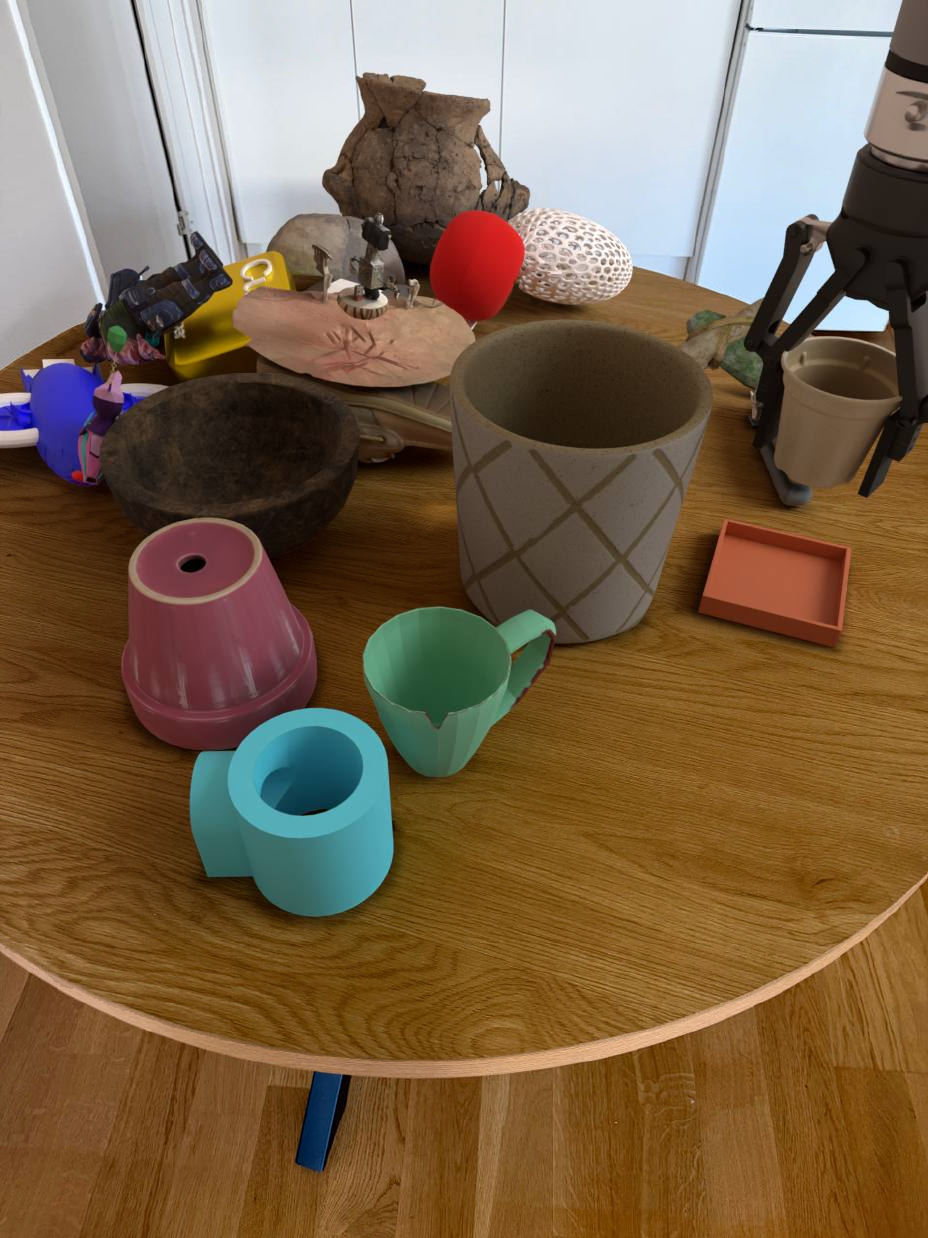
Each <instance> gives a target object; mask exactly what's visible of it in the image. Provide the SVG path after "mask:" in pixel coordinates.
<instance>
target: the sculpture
mask: <svg viewBox="0 0 928 1238" xmlns="http://www.w3.org/2000/svg"><path fill="white" fill-rule="evenodd" d="M382 223H383V215H382V214H381V213H377V214H376V215H375V217H374V218H372V217H368V218H365V220H364V222H363V223H362V224H361V226H362V234H361V235H362V238H363V239H364V240H366V241H367V242H368V243H367V248H366V254H365V256H360V257H359V260H357V259H356V256H354V258H353V257H352V256H351V257H350V262H349V264H350V266H351V267H350V268H349V271H350V273H351V274H355V275H356V274H357V269H356V267H354V266H352V262H354V261H355V260H356V261H357V262H358V264H359V272H358V281H359V282H360V283H361V284H359V285H355V287H349V288H345V289H343V290H341V291H340V292H334V293H328V289H329V288H330V286H331V281H332V277H333V275H332V274H330V273H329V271H328V259H330V260H333V258H332V255H331V254H330V253H329V251H328V250H327V249H326V248H325V247H324V246H322V245H320V244H313V245H312V248H313V250H314V256H313V258H314V261H315V263H316V269H317V270H319V272H320V273H321V274H322V275H324V277H323V279H324V285H323V292H318V291H305V290H302V291H297V290H296V291H293V290H285V289H276V288H273V287H267V286H260V287H258V288H257V289H255V290H251V291H249V292H248V293H247V295H245V296H243V297H241V298H240V299H239V301H238V304H237V306H236V308H235V309H234V310H233V327H235V328H236V329H238V331H240V333H241V332H243V333H244V334H245V335H246V336H248V337H249V339H252V340H251V341H249V342H248V343H247V344H245V346H248V347H249V346H250V347H251V348H252V349H254V350H255V351H256V352H258V353H260V354H261V355H263V356H264V357H266V358H268V359H269V360H271V361H273V362H275V363H277V364H279V365H281V366H283V367H285V368H288V369H291V370H293V371H295V372H298V373H309V374H311V375H312V376H313V377H317V378H321V379H324V380H329V381H333V382H339V383H344V384H350V385H358V386H369V387H400V386H409V385H413V384H422V383H427V382H431V381H435V382H436V381H438V380H440V379H443V378H447V377H450V374H451V370H452V367H453V365H454V363H455V361H456V359H457V358H458V356H459V355H460V354H461V353H462V352H463V351H464V350H465V349H466V348H467V347H468V346H469V345H471V344H472V343H474V342H475V341H476V336H475V332H473V329H472V330H471V329H470V327H469V325H468V324H467V323H466V321H465V320H464V318H463V317H462V316H461V315H460V314H459V313H457V312H456V311H455V310H453V309H451V308H449V307H448V306H446V305H445V304H444V303H443V302H441V301H438V300H437V299H436V298H433V297H432V298H431V297H428V296H422V295H418V292H419V290H420V287H421V284H419V281H418V280H417V279H416V278H414V279H410V278H408V280H407V282H406V283H408V286H409V290H410V291H409V296H408V297H404V296H401V297H398V295H399V294H400V290H399V289H397V287H396V284H397V279H396V277H394V276H393V275H387V285H386V284H385V283H384V282H383V272H384V263H383V262H381V261H380V255H381V251H382V252H383V251H384V250H386V249H388V245H389V240H390V238H391V235H390V234H391V230H389V229H388V228H385V227H384V226H383V225H382ZM382 283H383V284H384V285H385V286H384V287H386V288H387V289H390V290H391V291H392V292H394V291H393V290H396V291H395V292H394V297H389V296H388V295H385V294H382V293H381V292H379V290H380V288H382Z"/></svg>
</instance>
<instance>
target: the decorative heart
mask: <svg viewBox="0 0 928 1238" xmlns="http://www.w3.org/2000/svg"><path fill="white" fill-rule="evenodd" d="M508 224H509V225H510V226H511V227H512V228H513V229H515V230H516V231H517V233H518V234H519V235H520V237H521V238H522V240H523V243H524V246H525V257H524V261H525V262H524V261H523V264H524V265H523V264H522V266H523V268H521V269H522V270H521V269H520V271H521V272H519V273H520V274H519V275H518V276H519V277H518V279H517V280H518V281H520V285H519V287H518V286H516V288H518V289H519V290H521V291H522V292H523V293H525V294H526V295H527V294H528V295H529V296H532V297H534V298H536V299H539V300H542V301H545V302H549V303H554V304H560V305H571V306H572V305H573V306H576V305H577V306H578V305H579V306H582V305H593V304H598V303H601V302H605V301H608V300H610V299H612V298H614V297H617V296H618V295H619V294H621V293H622V291H623V290H625V288H626V287H627V286H628V285H629V284H630V281H631V279H632V276H633V270H634V269H633V260H632V256H631V254H630V252H629V250H628V249H627V247H626V246H625V244H624V243H623V242H622V241H621V240H620V239H619V238H618V237H617V235H615V234H614V233H613V232H611V231H610V230H608V229H607V228H606V227H604V226H603V225H601V224H599V223H598V222H595V221H594V220H591V219H589V218H587V217H585V216H582V215H579V214H576V213H573V212H569V211H566V210H562V209H559V208H546V207H537V208H531V209H528V210H525V211H523V212H522V213H519V214H518V215H516V216H515V217H514V218H512V219H511V220H509V222H508ZM540 232H543V233H540ZM562 235H563V236H565V238H563V237H562ZM580 240H581V241H580ZM555 241H558V243H556V242H555ZM572 247H573V248H572ZM578 249H579V250H578ZM595 252H597V253H598V254H597V253H595ZM527 253H528V254H527ZM533 259H534V260H533ZM603 263H604V264H603ZM610 263H611V265H610ZM563 268H564V269H563ZM523 269H524V270H523ZM615 270H616V271H615ZM568 274H570V276H567V275H568ZM539 275H540V276H539ZM601 276H602V277H601ZM609 278H611V279H610V280H609V281H608V279H609ZM539 281H540V282H539ZM590 282H596V283H595V284H589V283H590Z"/></svg>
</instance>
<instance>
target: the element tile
mask: <svg viewBox="0 0 928 1238" xmlns="http://www.w3.org/2000/svg"><path fill="white" fill-rule="evenodd" d="M223 268H224V270H225V271H226V272H227V273H228V274H229V276H230V277H231V278H232V280H233V284H232V285H231V286H230V287H229V288H226V289H224V290H221V291H218V292H214V294H213V295H212V297H211V298H210V299H209V300H208V302H206V303H205V304H203V305H202V306H200V307H199V308H198V309H197V310H196V311H195V312H194V313H193V314H192V315H190V316H189V317H188V318H186V319H185V320H184V321H183V322H181V323H180V324H179V325H177V326H176V327H175V328H173V329H172V330H171V331H170V332H168V333H166V334H164V335H163V337H164V338H163V339H164V348H165V357H166V359H165V360H166V363H167V364H168V366H169V368H170V369H171V372H173V374H174V376H175V377H176V379H177V381H178V382H179V384H180V383H183V382H186V381H190V380H194V379H199V378H204V377H209V376H214V375H223V374H233V373H257V369H256V366H257V360H258V357H259V356H260V355H261V354H260V353H258V352H256V351H255V350H254V349H252V348H251V347H250V346H249V347H248V346H245V344H247V343H248V342H249V341H251V340H252V339H249V337H248V336H246V335H245V334H244V333H243V332H241V333H240V331H238V329H236V328H235V327H233V310H234V309H235V308H236V306H237V304H238V301H239V299H240V298H241V297H243V296H245V295H247V293H248V292H249V291H251V290H255V289H257V288H258V287H260V286H267V287H273V288H276V289H285V290H293V291H297V288H296V284H295V281H294V279H293V275H291V274H290V272H289V269H288V267H287V265H286V262H285V260H284V258H283V256H282V255H281V254H280V253H279V252H276V251H269V252H266V251H265V252H262V253H258V254H256V255H253V256H250V257H247V258H244V259H241V260H237V261H235V262H232V263H230V264H226V265H223Z"/></svg>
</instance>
